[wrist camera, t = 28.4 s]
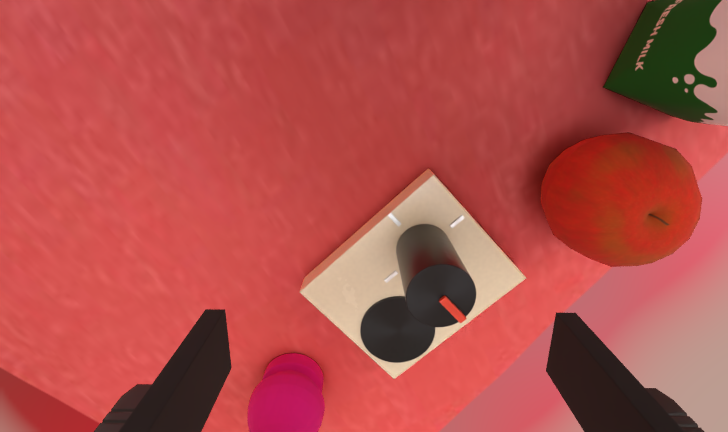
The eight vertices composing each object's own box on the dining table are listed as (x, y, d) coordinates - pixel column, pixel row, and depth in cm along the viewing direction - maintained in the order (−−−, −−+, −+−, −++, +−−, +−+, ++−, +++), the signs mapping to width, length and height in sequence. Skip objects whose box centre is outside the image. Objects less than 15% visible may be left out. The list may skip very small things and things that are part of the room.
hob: (428, 167, 37) (434, 174, 34) (515, 264, 39) (527, 279, 36) (303, 277, 40) (298, 293, 37) (391, 360, 43) (394, 380, 40)
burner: (400, 281, 37) (401, 283, 36) (450, 330, 38) (450, 332, 38) (344, 327, 38) (344, 329, 38) (394, 373, 40) (394, 375, 39)
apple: (647, 207, 38) (764, 255, 27) (544, 253, 39) (616, 318, 28) (615, 107, 35) (731, 115, 24) (506, 160, 36) (568, 191, 25)
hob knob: (384, 248, 36) (391, 297, 27) (426, 212, 35) (446, 252, 26) (420, 284, 37) (437, 342, 28) (461, 250, 36) (492, 300, 27)
